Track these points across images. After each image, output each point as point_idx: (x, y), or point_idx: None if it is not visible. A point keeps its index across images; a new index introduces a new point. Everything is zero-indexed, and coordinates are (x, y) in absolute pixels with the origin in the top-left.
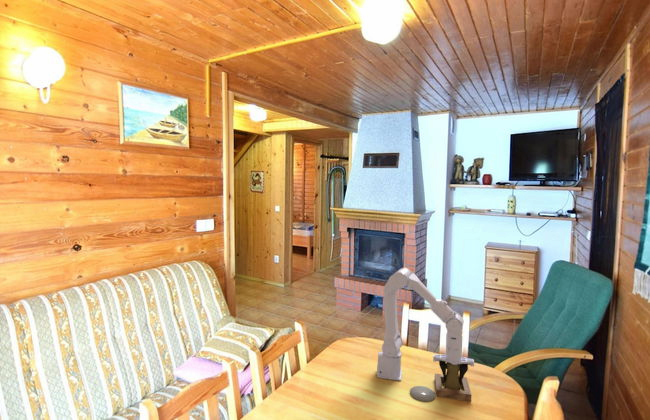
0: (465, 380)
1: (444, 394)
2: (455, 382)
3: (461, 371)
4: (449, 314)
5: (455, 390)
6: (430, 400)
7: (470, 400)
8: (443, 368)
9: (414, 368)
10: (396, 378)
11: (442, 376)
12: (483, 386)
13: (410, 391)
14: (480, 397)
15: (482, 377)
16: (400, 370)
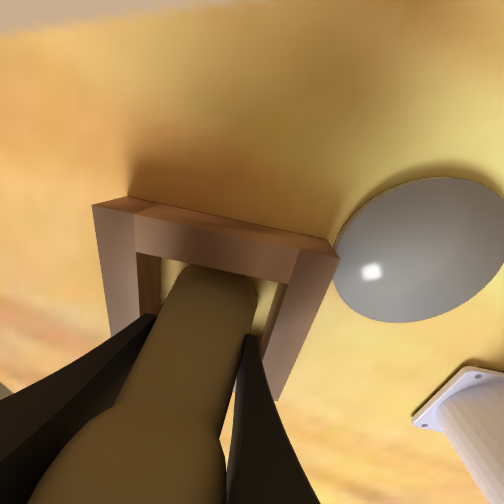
0: None
1: (282, 236)
2: (180, 314)
3: (40, 421)
4: None
5: (200, 255)
6: (398, 185)
7: (126, 198)
8: (277, 485)
9: (335, 427)
10: (489, 378)
11: None
12: (63, 322)
13: (494, 273)
14: (74, 239)
15: None
16: (468, 428)
